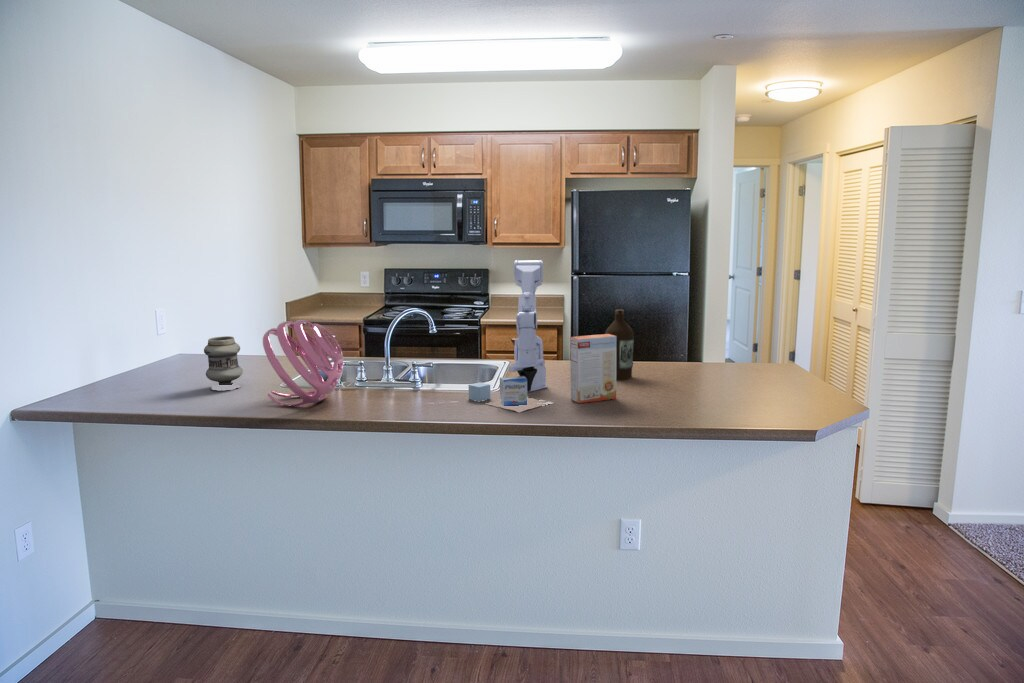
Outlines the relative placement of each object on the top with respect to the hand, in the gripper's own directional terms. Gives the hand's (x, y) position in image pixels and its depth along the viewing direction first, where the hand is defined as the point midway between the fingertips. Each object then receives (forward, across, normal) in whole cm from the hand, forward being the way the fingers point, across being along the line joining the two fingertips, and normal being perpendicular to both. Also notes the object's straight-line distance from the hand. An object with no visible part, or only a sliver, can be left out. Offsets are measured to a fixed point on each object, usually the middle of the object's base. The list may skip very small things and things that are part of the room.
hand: (527, 390), depth 228 cm
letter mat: (+3, -4, 0) cm, 5 cm away
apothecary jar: (+4, -60, +90) cm, 108 cm away
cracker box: (+4, +16, -14) cm, 22 cm away
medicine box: (+3, -6, 0) cm, 7 cm away
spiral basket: (+4, -50, +51) cm, 71 cm away
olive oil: (+4, +48, 0) cm, 48 cm away
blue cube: (+4, -9, +13) cm, 16 cm away
